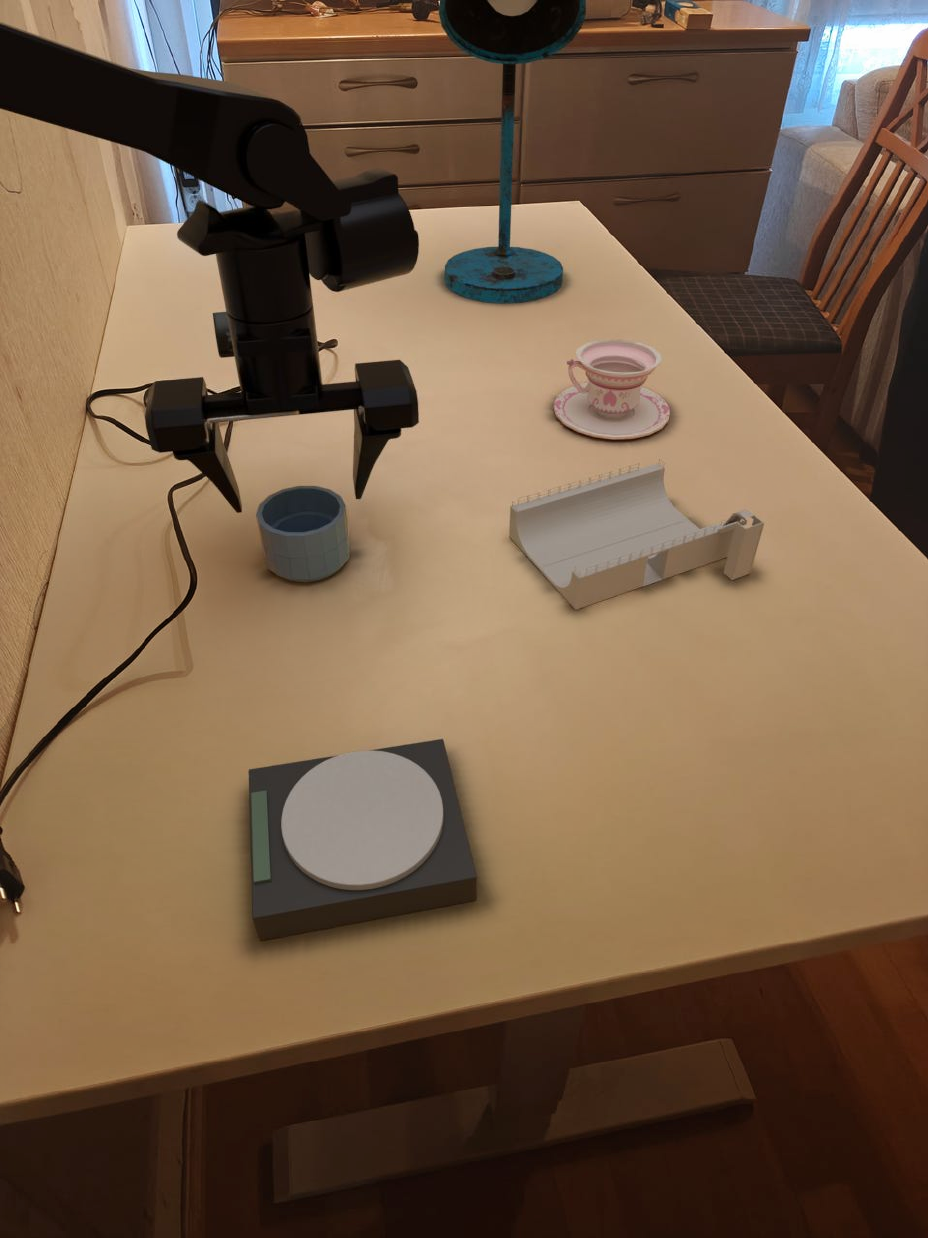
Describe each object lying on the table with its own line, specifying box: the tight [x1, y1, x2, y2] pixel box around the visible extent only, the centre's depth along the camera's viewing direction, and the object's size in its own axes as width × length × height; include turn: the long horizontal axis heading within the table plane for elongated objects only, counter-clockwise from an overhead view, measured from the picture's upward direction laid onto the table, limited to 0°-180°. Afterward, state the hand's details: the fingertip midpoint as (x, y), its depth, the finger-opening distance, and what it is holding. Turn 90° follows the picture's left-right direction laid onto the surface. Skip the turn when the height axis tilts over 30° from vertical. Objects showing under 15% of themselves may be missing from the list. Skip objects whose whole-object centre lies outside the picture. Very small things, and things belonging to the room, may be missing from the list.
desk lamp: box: [438, 0, 587, 304], centre depth 101 cm, size 16×22×45 cm
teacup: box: [553, 338, 671, 440], centre depth 88 cm, size 12×12×6 cm
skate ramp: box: [508, 458, 765, 611], centre depth 71 cm, size 15×13×5 cm
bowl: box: [255, 485, 351, 583], centre depth 70 cm, size 7×7×5 cm
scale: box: [248, 738, 478, 941], centre depth 50 cm, size 12×10×3 cm
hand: (299, 502), depth 68 cm, fingers open, 9 cm apart
